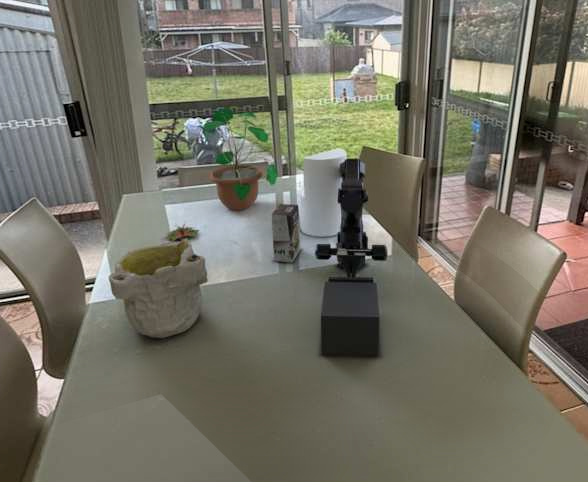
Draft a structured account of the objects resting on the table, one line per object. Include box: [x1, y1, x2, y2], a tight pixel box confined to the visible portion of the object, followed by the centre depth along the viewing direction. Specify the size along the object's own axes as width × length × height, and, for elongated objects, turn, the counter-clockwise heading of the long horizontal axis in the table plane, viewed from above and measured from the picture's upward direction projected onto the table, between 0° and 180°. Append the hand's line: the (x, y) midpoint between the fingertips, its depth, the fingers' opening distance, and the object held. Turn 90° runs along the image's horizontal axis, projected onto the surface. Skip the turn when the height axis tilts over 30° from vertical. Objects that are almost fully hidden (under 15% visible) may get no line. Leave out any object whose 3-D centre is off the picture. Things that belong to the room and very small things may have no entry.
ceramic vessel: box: [108, 239, 209, 339], centre depth 108 cm, size 23×24×25 cm
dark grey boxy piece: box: [327, 276, 375, 283], centre depth 109 cm, size 16×11×9 cm
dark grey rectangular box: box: [320, 281, 380, 357], centre depth 103 cm, size 14×13×11 cm
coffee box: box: [270, 203, 301, 264], centre depth 139 cm, size 9×6×16 cm
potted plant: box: [203, 108, 279, 211], centre depth 177 cm, size 31×29×40 cm
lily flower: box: [163, 221, 201, 242], centre depth 155 cm, size 12×12×5 cm
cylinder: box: [297, 147, 347, 238], centre depth 157 cm, size 17×17×28 cm
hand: (350, 284), depth 112 cm, fingers closed, pressing on dark grey boxy piece
